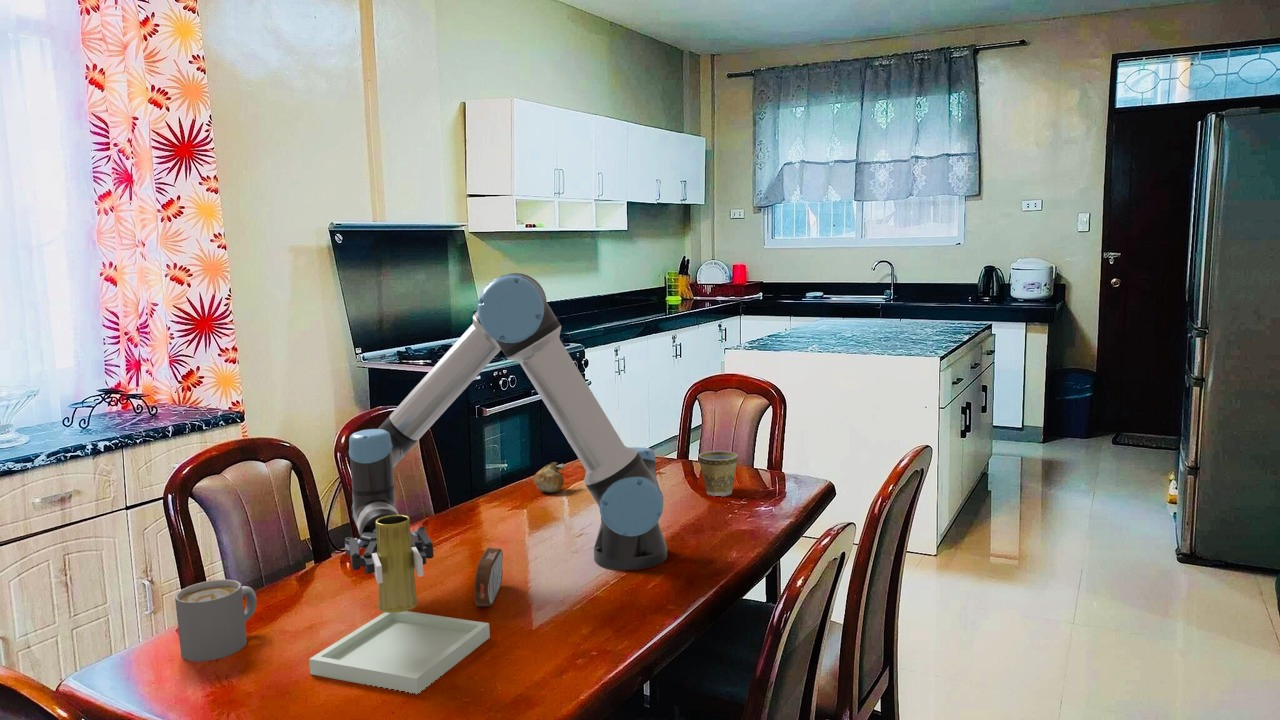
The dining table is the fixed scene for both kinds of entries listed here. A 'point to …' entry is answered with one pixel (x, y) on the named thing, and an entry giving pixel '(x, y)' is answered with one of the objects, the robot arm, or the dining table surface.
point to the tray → (400, 650)
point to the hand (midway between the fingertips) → (400, 571)
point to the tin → (488, 577)
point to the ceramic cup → (718, 471)
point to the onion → (549, 478)
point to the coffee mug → (213, 619)
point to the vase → (395, 564)
